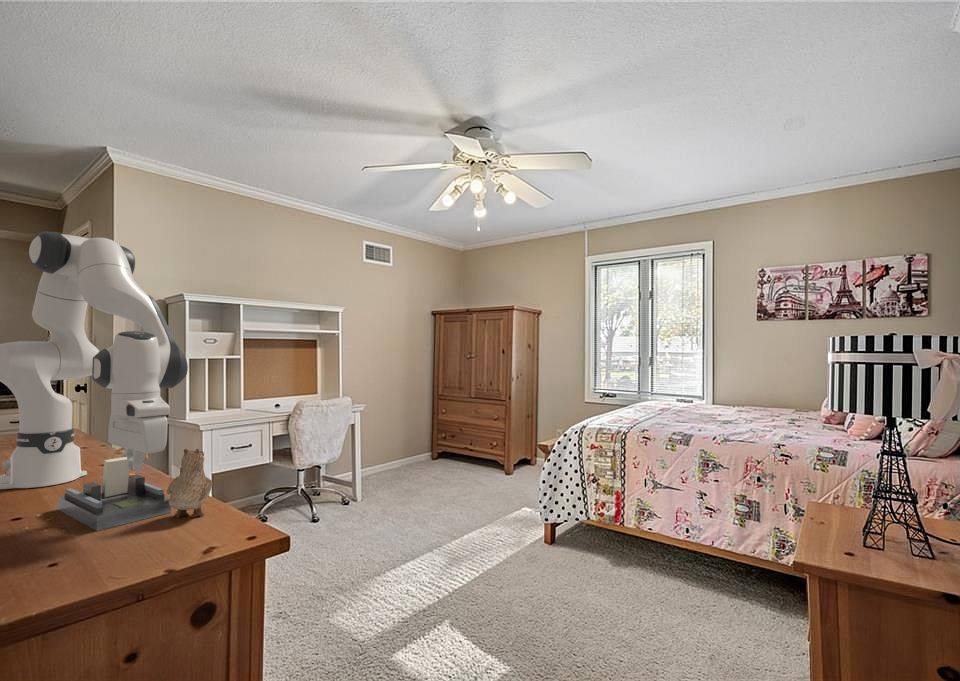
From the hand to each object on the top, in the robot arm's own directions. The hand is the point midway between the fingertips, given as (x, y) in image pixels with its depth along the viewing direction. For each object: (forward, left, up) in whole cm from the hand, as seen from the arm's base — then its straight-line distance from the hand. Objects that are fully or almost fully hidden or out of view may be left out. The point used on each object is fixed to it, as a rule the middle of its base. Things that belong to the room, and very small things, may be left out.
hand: (135, 469), depth 107 cm
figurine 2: (+8, +8, -11) cm, 16 cm away
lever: (-10, 0, -7) cm, 12 cm away
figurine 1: (-29, +10, -11) cm, 33 cm away
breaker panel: (-10, 0, -11) cm, 15 cm away
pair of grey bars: (-10, 0, -8) cm, 13 cm away
